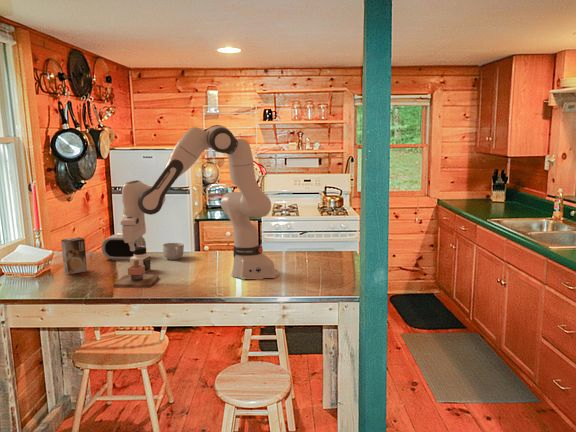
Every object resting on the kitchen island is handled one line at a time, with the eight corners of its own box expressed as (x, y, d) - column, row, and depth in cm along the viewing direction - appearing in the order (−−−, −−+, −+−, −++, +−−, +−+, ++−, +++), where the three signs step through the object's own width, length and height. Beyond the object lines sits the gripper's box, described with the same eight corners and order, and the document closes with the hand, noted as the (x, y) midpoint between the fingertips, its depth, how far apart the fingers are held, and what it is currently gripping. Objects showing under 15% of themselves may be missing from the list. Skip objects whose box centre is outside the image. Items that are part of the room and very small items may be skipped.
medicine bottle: (144, 273, 240) (142, 248, 238) (130, 272, 241) (129, 248, 240) (150, 269, 247) (149, 245, 245) (137, 268, 248) (136, 244, 246)
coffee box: (83, 268, 248) (80, 236, 245) (87, 271, 243) (85, 239, 240) (63, 272, 242) (61, 239, 239) (67, 274, 237) (65, 241, 235)
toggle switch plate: (158, 277, 232) (158, 256, 231) (150, 287, 218) (149, 264, 217) (124, 277, 232) (123, 256, 231) (113, 286, 219) (112, 264, 217)
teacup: (162, 257, 272) (162, 242, 271) (183, 255, 275) (182, 241, 274) (164, 263, 259) (164, 248, 257) (186, 261, 262) (185, 246, 261)
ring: (145, 271, 228) (144, 265, 227) (141, 275, 222) (140, 268, 221) (132, 271, 228) (131, 264, 227) (128, 274, 222) (127, 268, 221)
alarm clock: (101, 260, 264) (100, 235, 262) (108, 256, 273) (107, 232, 271) (140, 261, 263) (139, 236, 261) (146, 256, 273) (145, 232, 271)
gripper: (134, 213, 231) (136, 242, 234) (118, 222, 211) (121, 254, 214) (148, 213, 231) (150, 242, 234) (133, 222, 211) (136, 253, 214)
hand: (136, 248), depth 224 cm, fingers open, 8 cm apart
